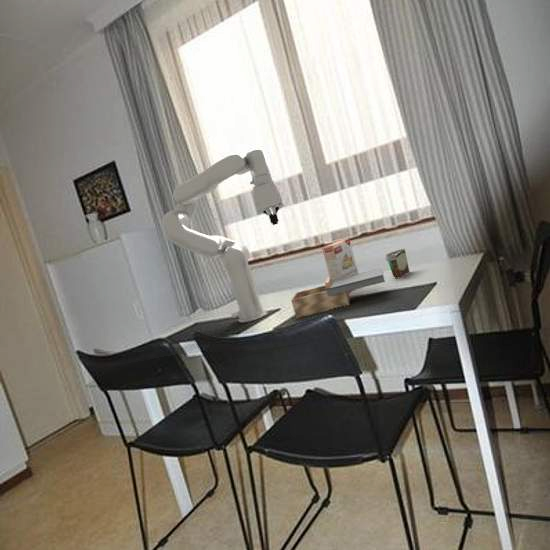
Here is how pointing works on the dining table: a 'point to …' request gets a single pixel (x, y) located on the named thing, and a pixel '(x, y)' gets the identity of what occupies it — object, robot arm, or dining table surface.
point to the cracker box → (340, 260)
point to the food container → (398, 263)
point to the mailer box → (317, 301)
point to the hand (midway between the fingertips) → (275, 224)
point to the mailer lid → (354, 282)
